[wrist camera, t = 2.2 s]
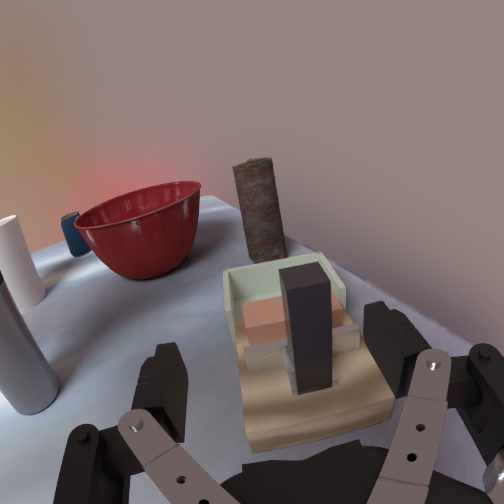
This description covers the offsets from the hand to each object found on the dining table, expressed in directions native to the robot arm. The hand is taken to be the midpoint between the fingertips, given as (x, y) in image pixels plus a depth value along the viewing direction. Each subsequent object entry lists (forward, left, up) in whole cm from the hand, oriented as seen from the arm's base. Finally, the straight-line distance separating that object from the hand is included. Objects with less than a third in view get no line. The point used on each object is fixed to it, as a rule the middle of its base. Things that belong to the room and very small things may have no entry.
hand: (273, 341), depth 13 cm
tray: (-16, +25, -20) cm, 35 cm away
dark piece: (-4, +11, -16) cm, 20 cm away
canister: (-73, +1, -20) cm, 76 cm away
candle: (-27, +39, -20) cm, 52 cm away
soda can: (-84, +26, -20) cm, 91 cm away
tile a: (-13, +16, -16) cm, 26 cm away
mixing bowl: (-51, +29, -20) cm, 62 cm away
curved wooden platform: (-7, +14, -20) cm, 25 cm away
